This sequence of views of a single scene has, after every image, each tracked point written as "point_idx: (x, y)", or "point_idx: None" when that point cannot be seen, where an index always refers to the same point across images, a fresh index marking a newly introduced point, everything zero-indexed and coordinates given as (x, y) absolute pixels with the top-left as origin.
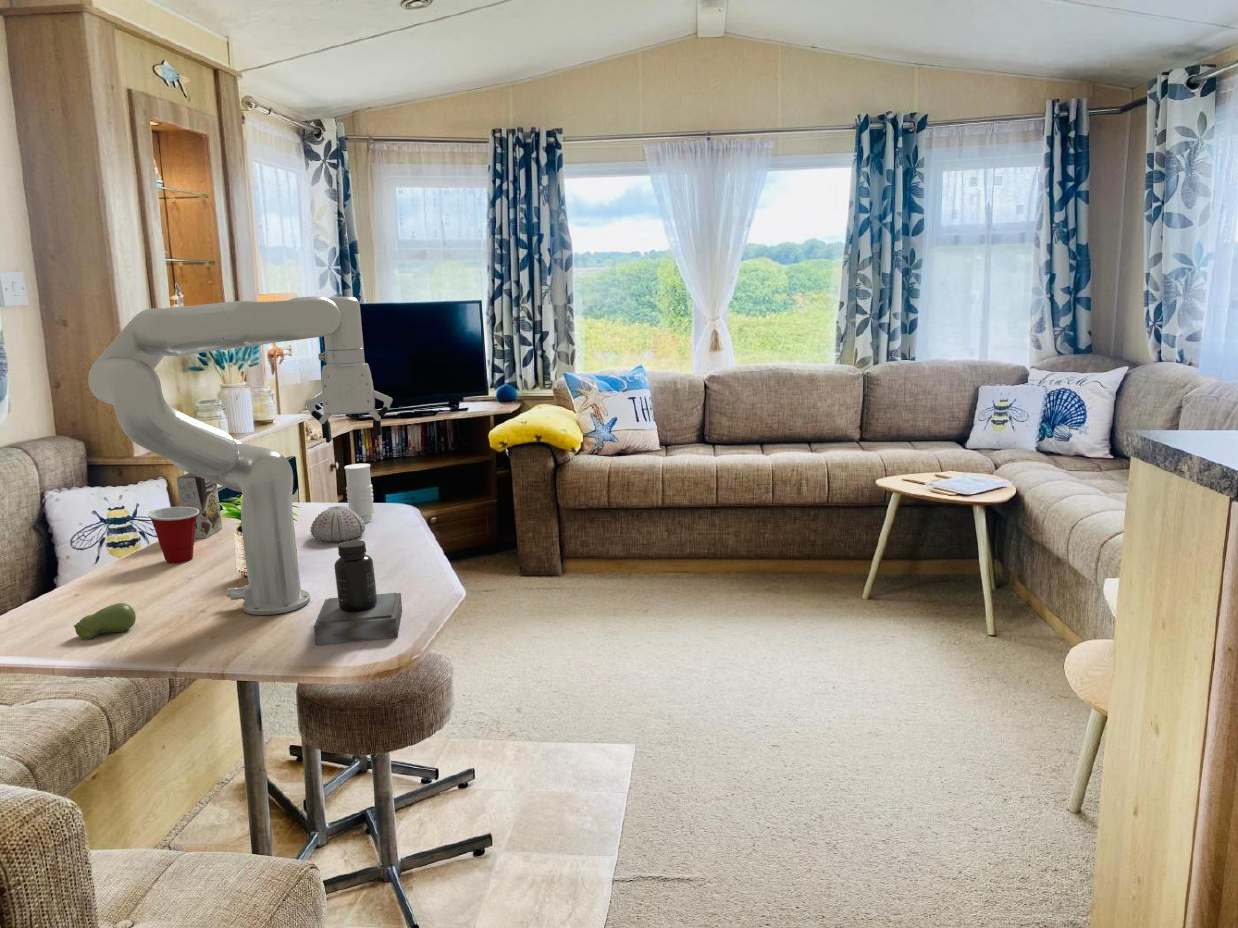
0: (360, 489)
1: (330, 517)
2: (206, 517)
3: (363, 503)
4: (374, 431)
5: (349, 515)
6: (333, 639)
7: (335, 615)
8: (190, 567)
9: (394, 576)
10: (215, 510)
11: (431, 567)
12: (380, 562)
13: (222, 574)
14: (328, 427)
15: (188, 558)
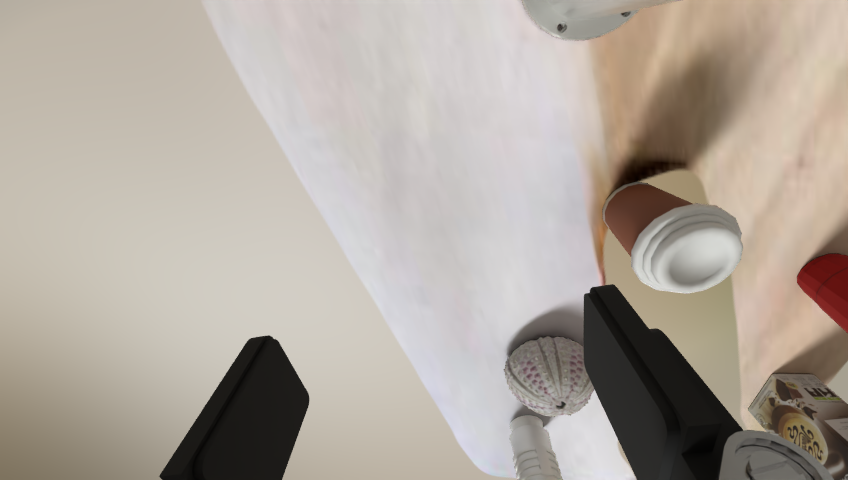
0: (534, 471)
1: (564, 375)
2: (800, 407)
3: (526, 446)
4: (237, 383)
5: (532, 385)
6: None
7: None
8: (800, 230)
9: (382, 150)
10: (785, 433)
11: (330, 199)
12: (436, 233)
13: (734, 185)
14: (646, 395)
15: (808, 268)
